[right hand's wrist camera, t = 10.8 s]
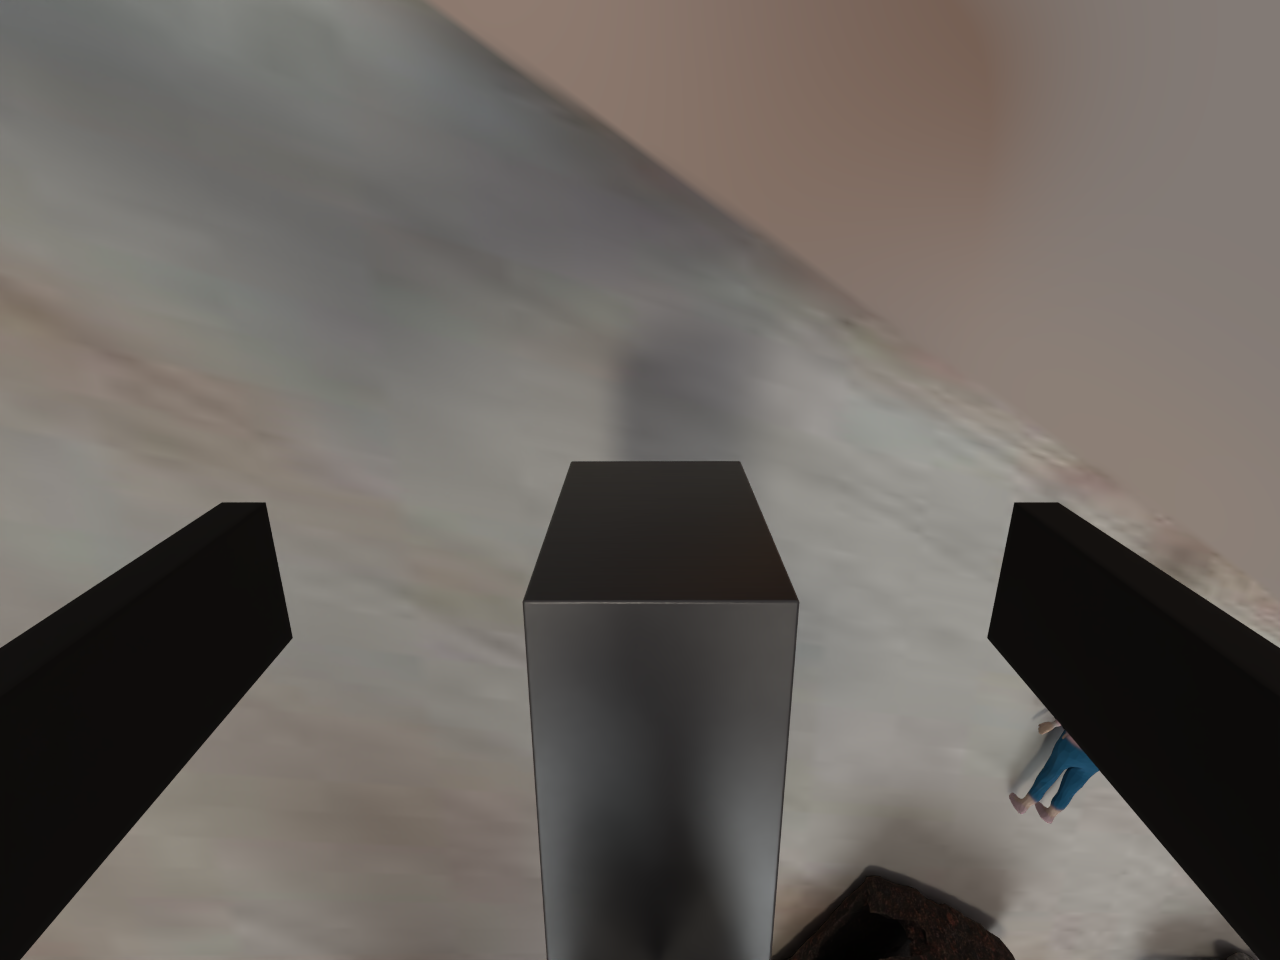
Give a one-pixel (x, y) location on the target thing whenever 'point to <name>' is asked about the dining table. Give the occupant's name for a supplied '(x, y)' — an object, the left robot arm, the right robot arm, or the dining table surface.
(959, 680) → the dining table surface
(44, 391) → the dining table surface
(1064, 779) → the figurine
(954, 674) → the dining table surface
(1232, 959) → the valve
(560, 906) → the box
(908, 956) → the axe head
